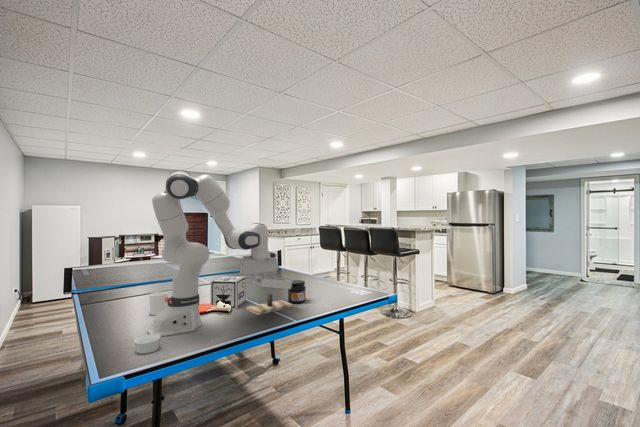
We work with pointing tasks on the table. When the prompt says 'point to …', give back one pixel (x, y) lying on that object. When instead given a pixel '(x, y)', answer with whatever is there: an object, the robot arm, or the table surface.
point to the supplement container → (297, 292)
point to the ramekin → (147, 343)
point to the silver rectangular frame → (273, 282)
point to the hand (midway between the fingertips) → (259, 281)
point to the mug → (157, 302)
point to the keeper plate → (269, 306)
